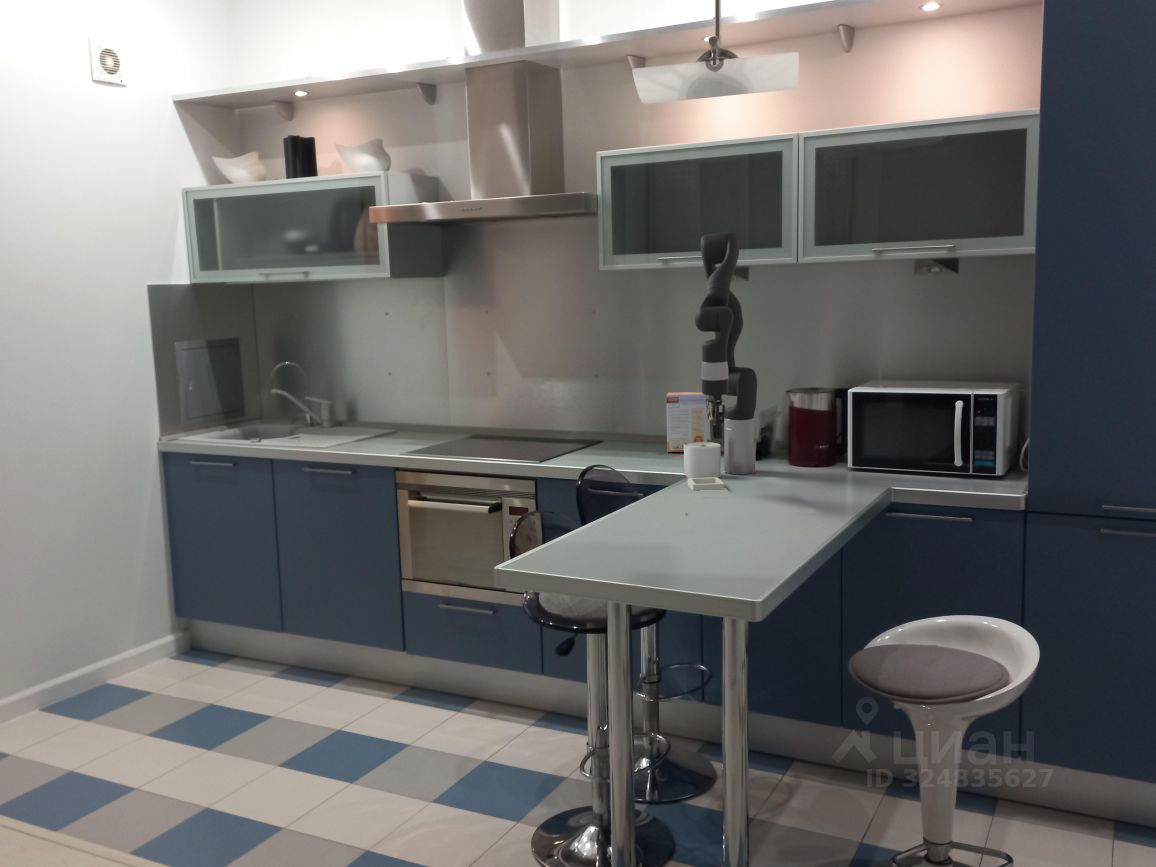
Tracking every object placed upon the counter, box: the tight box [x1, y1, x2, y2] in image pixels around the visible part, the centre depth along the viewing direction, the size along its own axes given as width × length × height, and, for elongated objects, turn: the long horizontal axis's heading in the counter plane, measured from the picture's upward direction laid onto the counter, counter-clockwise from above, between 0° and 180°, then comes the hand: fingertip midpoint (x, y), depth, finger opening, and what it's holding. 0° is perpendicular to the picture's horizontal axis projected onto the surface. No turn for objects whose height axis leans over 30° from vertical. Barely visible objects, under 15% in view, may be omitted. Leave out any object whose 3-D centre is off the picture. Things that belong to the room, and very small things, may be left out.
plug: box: [707, 417, 724, 442], centre depth 294 cm, size 4×4×7 cm
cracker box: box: [665, 391, 709, 452], centre depth 361 cm, size 14×6×21 cm, turn 80°
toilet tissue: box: [683, 441, 722, 479], centre depth 320 cm, size 11×12×10 cm
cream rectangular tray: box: [687, 477, 727, 491], centre depth 297 cm, size 11×18×3 cm, turn 4°
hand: (715, 436), depth 295 cm, fingers closed on plug, 4 cm apart
